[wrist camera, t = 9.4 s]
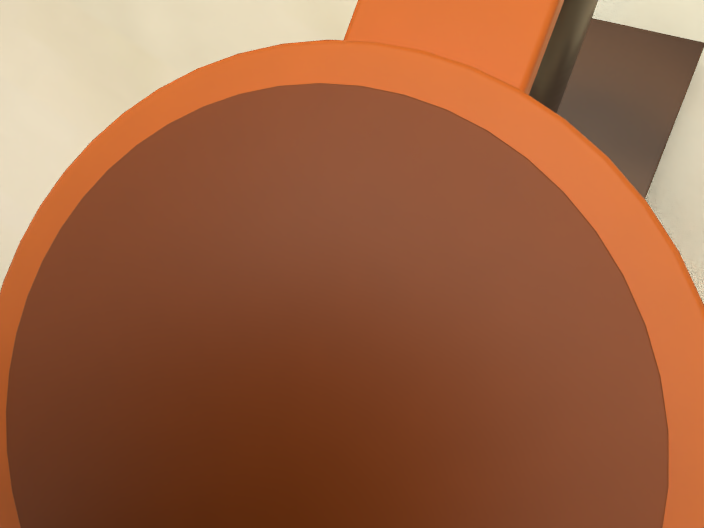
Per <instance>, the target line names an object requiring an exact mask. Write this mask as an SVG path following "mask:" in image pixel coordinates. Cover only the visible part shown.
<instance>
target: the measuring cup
mask: <svg viewBox="0 0 704 528" xmlns="http://www.w3.org/2000/svg"><path fill="white" fill-rule="evenodd" d="M563 2H564V0H358V2H357V5H356V8H355V10H354V13H353V16H352V19H351V21H350V24H349V27H348V30H347V32H346V35H345V38H344V40H320V41H309V42H298V43H287V44H280V45H275V46H271V47H266V48H262V49H257V50H253V51H248V52H244V53H240V54H236V55H234V56H231V57H228V58H225V59H223V60H220V61H217V62H215V63H212V64H209V65H206V66H204V67H201V68H198V69H196V70H194V71H192V72H190V73H188V74H186V75H184V76H182V77H180V78H179V79H177V80H175V81H173V82H171V83H169V84H167V85H165V86H163V87H161V88H159V89H158V90H156V91H155V92H153V93H152V94H150V95H149V96H148V97H146V98H145V99H143V100H142V101H140V102H139V103H137V104H136V105H134V106H133V107H132V108H130V109H129V110H127V111H126V112H124V113H123V114H122V115H121V116H120V117H118V118H117V119H116V120H115V121H114V122H113V123H112V124H111V125H109V126H108V127H107V128H106V129H105V130H104V131H103V132H101V133H100V134H99V135H98V136H97V137H96V138H95V139H94V140H92V141H91V143H90V144H89V145H88V146H87V147H86V148H85V149H84V150H83V152H82V153H81V154H80V155H79V156H78V157H77V158H76V159H75V160H74V162H73V163H72V164H71V165H70V166H69V167H68V168H67V169H66V170H65V172H64V173H63V174H62V176H61V177H60V179H59V180H58V181H57V183H56V184H55V186H54V187H53V188H52V190H51V191H50V193H49V194H48V196H47V197H46V198H45V200H44V201H43V203H42V204H41V205H40V207H39V209H38V211H37V212H36V214H35V216H34V218H33V220H32V222H31V223H30V225H29V227H28V229H27V231H26V232H25V234H24V236H23V238H22V240H21V241H20V243H19V246H18V248H17V250H16V253H15V255H14V258H13V260H12V262H11V265H10V267H9V270H8V272H7V274H6V277H5V279H4V282H3V285H2V288H1V292H0V528H704V304H703V302H702V300H701V298H700V296H699V294H698V291H697V289H696V287H695V285H694V283H693V281H692V279H691V276H690V274H689V272H688V270H687V268H686V266H685V264H684V261H683V259H682V257H681V255H680V253H679V251H678V249H677V248H676V246H675V245H674V243H673V242H672V240H671V239H670V237H669V235H668V234H667V232H666V231H665V229H664V228H663V226H662V225H661V223H660V222H659V220H658V218H657V217H656V215H655V214H654V212H653V211H652V209H651V208H650V206H649V205H648V203H647V202H646V200H645V199H644V198H643V197H642V196H641V194H640V193H639V192H638V191H637V190H636V189H635V187H634V186H633V185H632V184H631V183H630V182H629V181H628V179H627V178H626V177H625V176H624V175H623V174H622V172H621V171H620V170H619V169H618V168H617V167H616V165H615V164H614V163H613V162H612V161H611V160H610V159H609V157H608V156H606V155H605V154H604V153H603V152H602V151H601V150H600V149H599V148H597V147H596V146H595V145H594V144H593V143H592V142H591V141H589V140H588V139H587V138H586V137H585V136H584V135H583V134H582V133H580V132H579V131H578V130H577V129H576V128H575V127H574V126H572V125H571V124H570V123H569V122H568V121H567V120H566V119H564V118H563V117H561V116H560V115H558V114H557V113H555V112H554V111H552V110H551V109H549V108H548V107H546V106H544V105H543V104H541V103H540V102H538V101H537V100H535V99H534V98H532V97H531V96H529V93H530V90H531V88H532V85H533V82H534V80H535V77H536V74H537V72H538V69H539V66H540V64H541V61H542V58H543V56H544V53H545V50H546V48H547V45H548V42H549V40H550V37H551V34H552V32H553V29H554V26H555V24H556V21H557V18H558V16H559V13H560V10H561V8H562V5H563Z"/></svg>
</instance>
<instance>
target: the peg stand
mask: <svg viewBox="0 0 704 528" xmlns="http://www.w3.org/2000/svg"><path fill="white" fill-rule="evenodd" d="M597 2H598V0H564V2H563V5H562V8H561V10H560V13H559V16H558V18H557V21H556V24H555V26H554V29H553V32H552V34H551V37H550V40H549V42H548V45H547V48H546V50H545V53H544V56H543V58H542V61H541V64H540V66H539V69H538V72H537V74H536V77H535V80H534V82H533V85H532V88H531V90H530V93H529V96H531V97H532V98H534V99H535V100H537V101H538V102H540V103H541V104H543V105H544V106H546V107H548V108H549V109H551V110H552V111H554V112H555V113H557V114H558V115H560V116H561V117H563V118H564V119H566V120H567V121H568V122H569V123H570V124H571V125H572V126H574V127H575V128H576V129H577V130H578V131H579V132H580V133H582V134H583V135H584V136H585V137H586V138H587V139H588V140H589V141H591V142H592V143H593V144H594V145H595V146H596V147H597V148H599V149H600V150H601V151H602V152H603V153H604V154H605V155H606V156H608V157H609V159H610V160H611V161H612V162H613V163H614V164H615V165H616V167H617V168H618V169H619V170H620V171H621V172H622V174H623V175H624V176H625V177H626V178H627V179H628V181H629V182H630V183H631V184H632V185H633V186H634V187H635V189H636V190H637V191H638V192H639V193H640V194H641V196H642V197H643V198H644V199H645V197H646V195H647V192H648V190H649V187H650V185H651V182H652V179H653V177H654V174H655V172H656V169H657V166H658V164H659V161H660V159H661V156H662V154H663V151H664V148H665V146H666V143H667V141H668V138H669V136H670V133H671V130H672V128H673V125H674V123H675V120H676V118H677V115H678V112H679V110H680V107H681V105H682V102H683V99H684V97H685V94H686V92H687V89H688V87H689V84H690V81H691V79H692V76H693V74H694V71H695V69H696V66H697V63H698V61H699V58H700V56H701V53H702V51H703V48H704V43H703V42H698V41H694V40H689V39H684V38H680V37H675V36H671V35H666V34H662V33H657V32H652V31H648V30H643V29H639V28H634V27H630V26H625V25H620V24H616V23H611V22H607V21H602V20H597V19H593V18H592V16H593V13H594V10H595V8H596V5H597Z"/></svg>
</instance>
